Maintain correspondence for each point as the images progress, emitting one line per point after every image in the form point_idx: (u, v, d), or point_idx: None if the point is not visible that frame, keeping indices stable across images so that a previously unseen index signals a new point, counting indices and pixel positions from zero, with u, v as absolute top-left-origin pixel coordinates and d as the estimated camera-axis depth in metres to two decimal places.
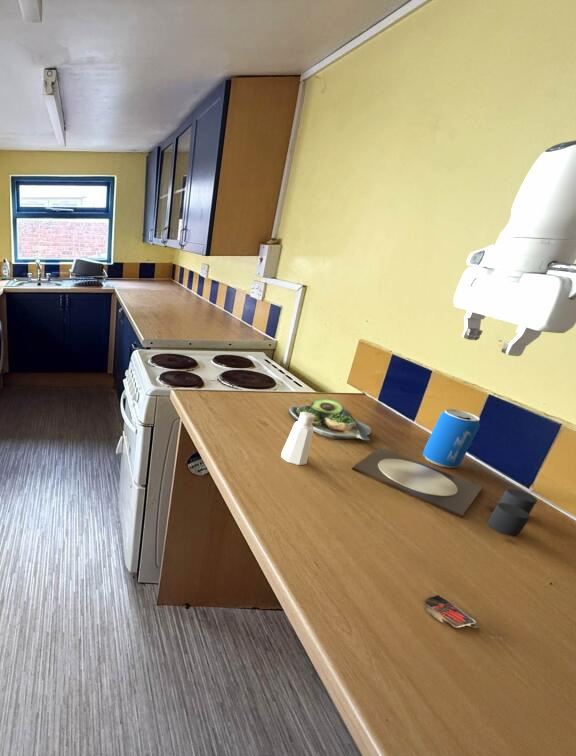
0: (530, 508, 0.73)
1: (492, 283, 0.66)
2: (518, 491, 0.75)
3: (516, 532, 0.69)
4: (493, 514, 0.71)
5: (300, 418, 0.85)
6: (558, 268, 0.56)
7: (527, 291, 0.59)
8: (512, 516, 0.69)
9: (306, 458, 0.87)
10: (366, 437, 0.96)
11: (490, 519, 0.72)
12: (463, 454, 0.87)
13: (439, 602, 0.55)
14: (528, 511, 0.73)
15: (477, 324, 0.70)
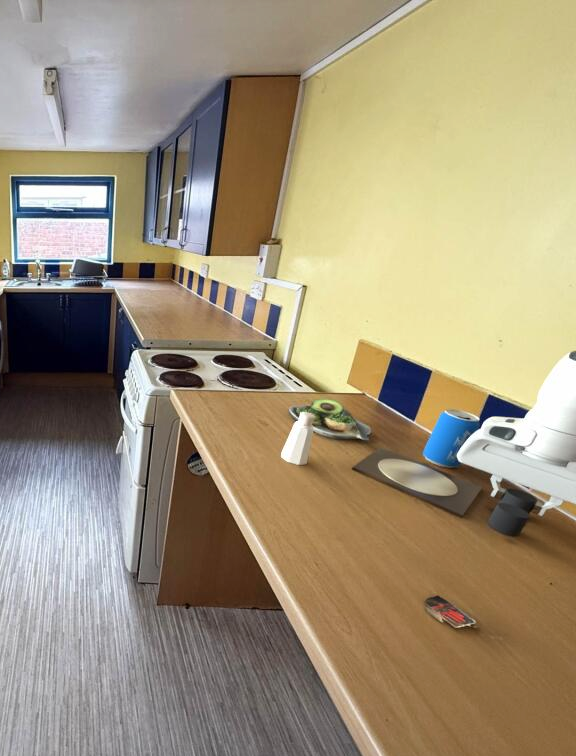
0: (530, 508, 0.73)
1: (517, 455, 0.73)
2: (518, 491, 0.75)
3: (516, 532, 0.69)
4: (493, 514, 0.71)
5: (300, 418, 0.85)
6: None
7: None
8: (512, 516, 0.69)
9: (306, 458, 0.87)
10: (366, 437, 0.96)
11: (490, 519, 0.72)
12: None
13: (439, 602, 0.55)
14: (528, 511, 0.73)
15: (499, 483, 0.77)
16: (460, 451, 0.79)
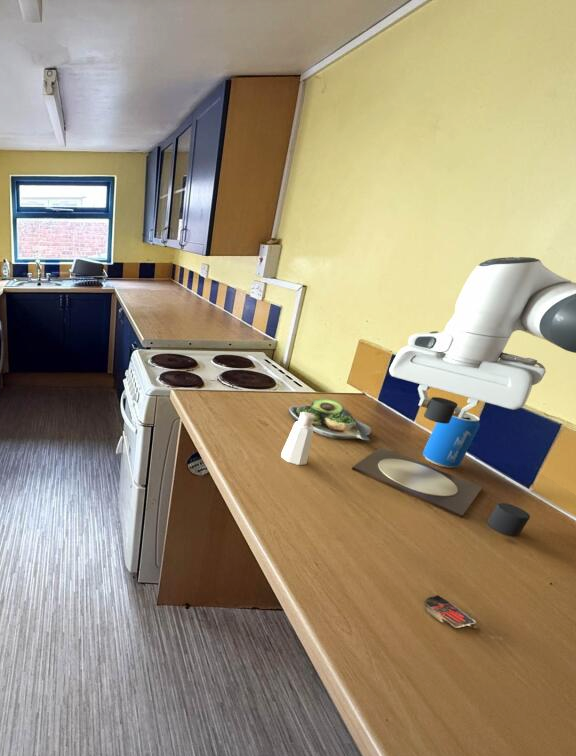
0: (451, 412, 0.79)
1: (439, 363, 0.79)
2: (442, 399, 0.81)
3: (516, 532, 0.69)
4: (493, 514, 0.71)
5: (300, 418, 0.85)
6: (513, 360, 0.72)
7: (490, 376, 0.74)
8: (512, 516, 0.69)
9: (306, 458, 0.87)
10: (366, 437, 0.96)
11: (490, 519, 0.72)
12: (463, 454, 0.87)
13: (439, 602, 0.55)
14: (449, 415, 0.79)
15: (426, 393, 0.83)
16: (391, 365, 0.85)
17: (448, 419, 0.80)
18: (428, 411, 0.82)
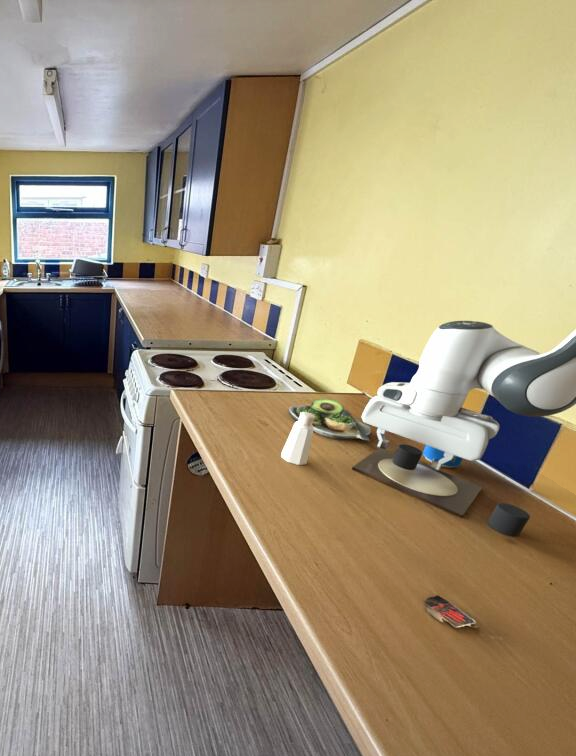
0: (416, 460, 0.85)
1: (405, 413, 0.85)
2: (409, 446, 0.87)
3: (516, 532, 0.69)
4: (493, 514, 0.71)
5: (300, 418, 0.85)
6: (471, 415, 0.77)
7: (450, 429, 0.79)
8: (512, 516, 0.69)
9: (306, 458, 0.87)
10: (366, 437, 0.96)
11: (490, 519, 0.72)
12: None
13: (439, 602, 0.55)
14: (415, 462, 0.85)
15: (384, 436, 0.90)
16: (363, 413, 0.91)
17: (414, 466, 0.86)
18: (396, 458, 0.88)
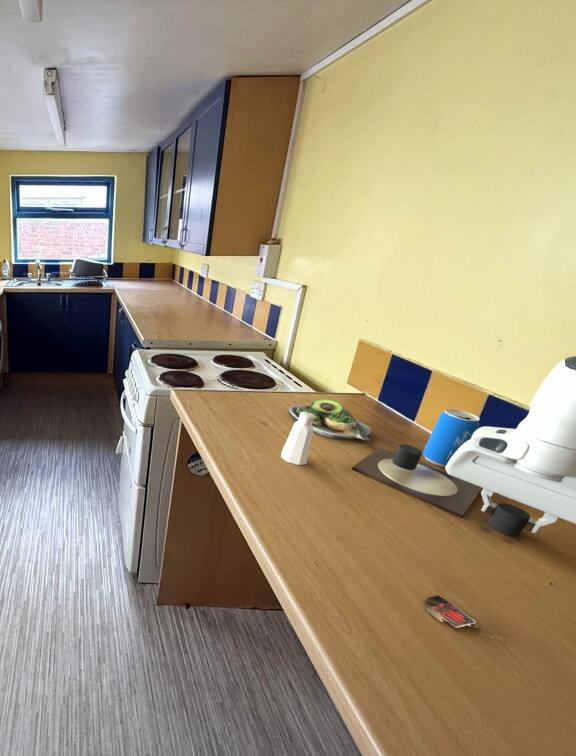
0: (416, 460, 0.85)
1: (509, 468, 0.68)
2: (409, 446, 0.87)
3: (516, 532, 0.69)
4: (493, 514, 0.71)
5: (300, 418, 0.85)
6: None
7: (574, 492, 0.63)
8: (512, 516, 0.69)
9: (306, 458, 0.87)
10: (366, 437, 0.96)
11: (490, 519, 0.72)
12: None
13: (439, 602, 0.55)
14: (415, 462, 0.85)
15: (490, 497, 0.72)
16: (449, 463, 0.74)
17: (414, 466, 0.86)
18: (396, 458, 0.88)
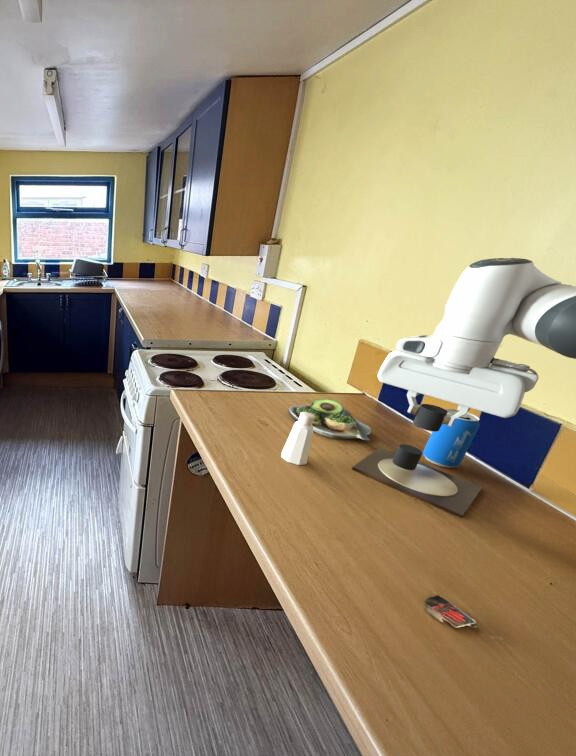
0: (416, 460, 0.85)
1: (428, 368, 0.76)
2: (409, 446, 0.87)
3: (436, 427, 0.77)
4: (417, 414, 0.79)
5: (300, 418, 0.85)
6: (505, 366, 0.68)
7: (481, 382, 0.70)
8: (432, 412, 0.76)
9: (306, 458, 0.87)
10: (366, 437, 0.96)
11: (415, 419, 0.79)
12: (463, 454, 0.87)
13: (439, 602, 0.55)
14: (415, 462, 0.85)
15: (415, 400, 0.80)
16: (380, 370, 0.81)
17: (414, 466, 0.86)
18: (396, 458, 0.88)
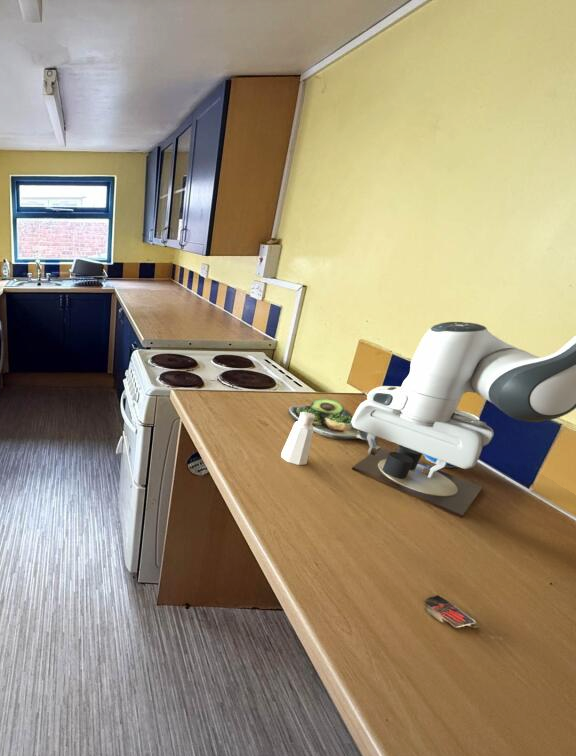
0: (416, 460, 0.85)
1: (396, 419, 0.81)
2: None
3: (402, 475, 0.82)
4: (386, 461, 0.85)
5: (300, 418, 0.85)
6: (464, 421, 0.74)
7: (443, 435, 0.76)
8: (398, 461, 0.82)
9: (306, 458, 0.87)
10: (366, 437, 0.96)
11: (384, 466, 0.85)
12: None
13: (439, 602, 0.55)
14: (415, 462, 0.85)
15: (374, 441, 0.87)
16: (353, 417, 0.87)
17: (414, 466, 0.86)
18: None
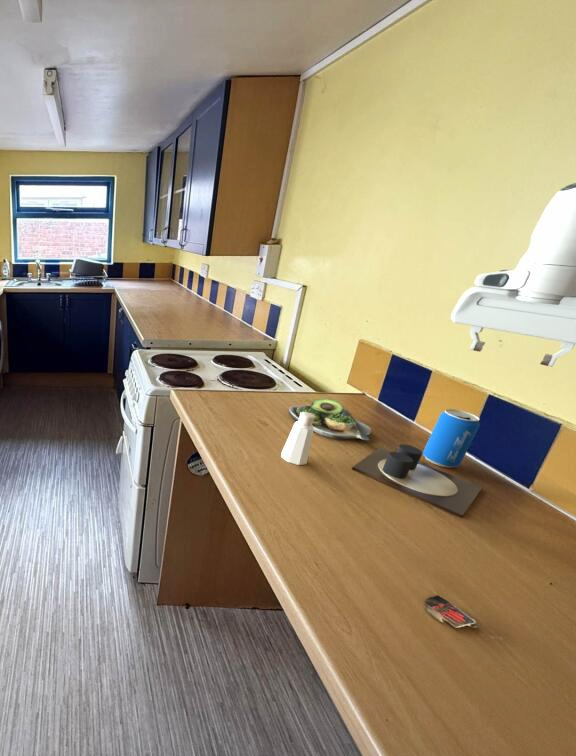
0: (416, 460, 0.85)
1: (511, 303, 0.73)
2: (409, 446, 0.87)
3: (402, 475, 0.82)
4: (386, 461, 0.85)
5: (300, 418, 0.85)
6: None
7: (572, 312, 0.67)
8: (398, 461, 0.82)
9: (306, 458, 0.87)
10: (366, 437, 0.96)
11: (384, 466, 0.85)
12: (463, 454, 0.87)
13: (439, 602, 0.55)
14: (415, 462, 0.85)
15: (478, 336, 0.78)
16: (454, 310, 0.79)
17: (414, 466, 0.86)
18: None
